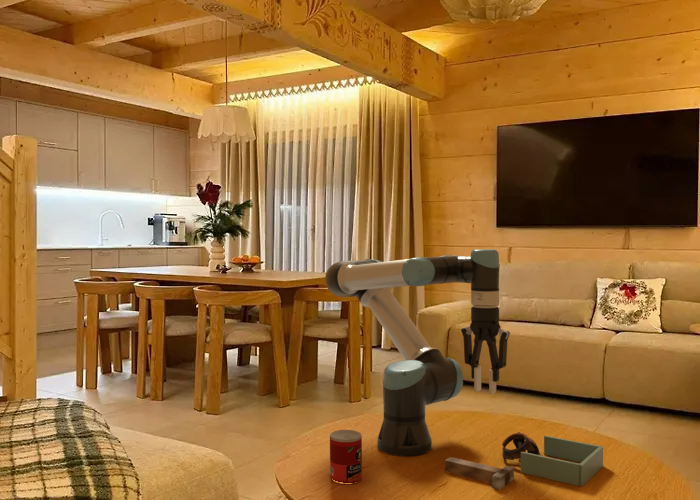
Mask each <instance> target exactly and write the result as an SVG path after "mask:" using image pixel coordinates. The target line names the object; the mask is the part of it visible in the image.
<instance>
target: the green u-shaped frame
mask: <svg viewBox="0 0 700 500" xmlns="http://www.w3.org/2000/svg"><path fill="white" fill-rule="evenodd" d="M540 455H541V454H540ZM540 455H536V454H531V453H528V452H527V451H526V452H521V458H520V473H523V474H527V475H532V476H534V477H538V478H543V479H549V480H552V481H553V480H554V481H557V482H560V483H566V484H569V485H570V484H571V485H575V486H578V487H583V486H584V485H586V483H588V481H590V480H591V479H592V478H593V477H594V475H595V474H597V472H598V471H599V470H601V469H602V468H603V467H604V446H602V445H597V444H591V443H587V442H586V443H585V442H581V441H576V440H570V439H565V438H561V437H560V438H559V437H555V436H550V435H544V437H543V455H541V456H540ZM548 456H549V457H548ZM553 457H554V458H553ZM558 458H559V459H558ZM562 459H564V460H562Z"/></svg>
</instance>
